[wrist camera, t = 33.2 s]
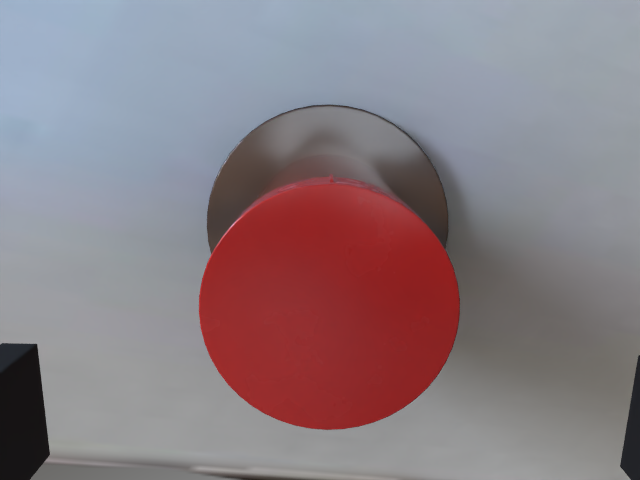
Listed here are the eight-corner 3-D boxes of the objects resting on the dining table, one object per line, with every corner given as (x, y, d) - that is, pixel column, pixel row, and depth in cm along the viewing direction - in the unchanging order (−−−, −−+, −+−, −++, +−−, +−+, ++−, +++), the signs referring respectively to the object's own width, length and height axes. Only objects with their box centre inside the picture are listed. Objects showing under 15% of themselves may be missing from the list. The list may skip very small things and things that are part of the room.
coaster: (437, 337, 31) (440, 343, 30) (213, 333, 31) (210, 339, 30) (453, 106, 28) (457, 106, 27) (205, 102, 28) (202, 102, 27)
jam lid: (207, 171, 18) (193, 178, 16) (455, 176, 18) (470, 183, 16) (214, 398, 20) (203, 428, 18) (438, 402, 20) (450, 432, 18)
